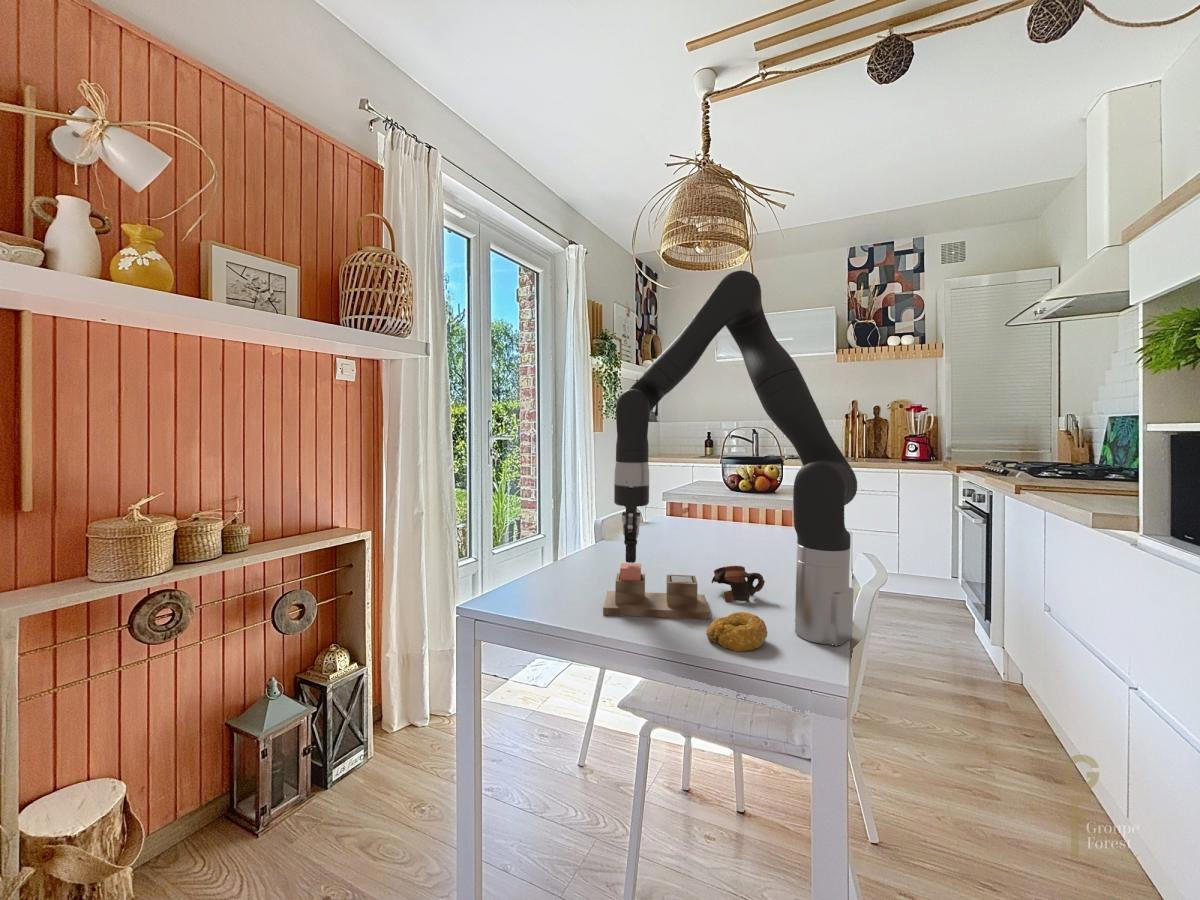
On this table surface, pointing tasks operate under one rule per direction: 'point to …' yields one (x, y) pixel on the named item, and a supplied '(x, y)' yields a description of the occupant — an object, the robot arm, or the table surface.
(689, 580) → the white block
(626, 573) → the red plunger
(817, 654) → the table surface
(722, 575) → the pottery mug
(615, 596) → the wooden block stand
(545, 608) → the table surface
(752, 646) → the bagel
